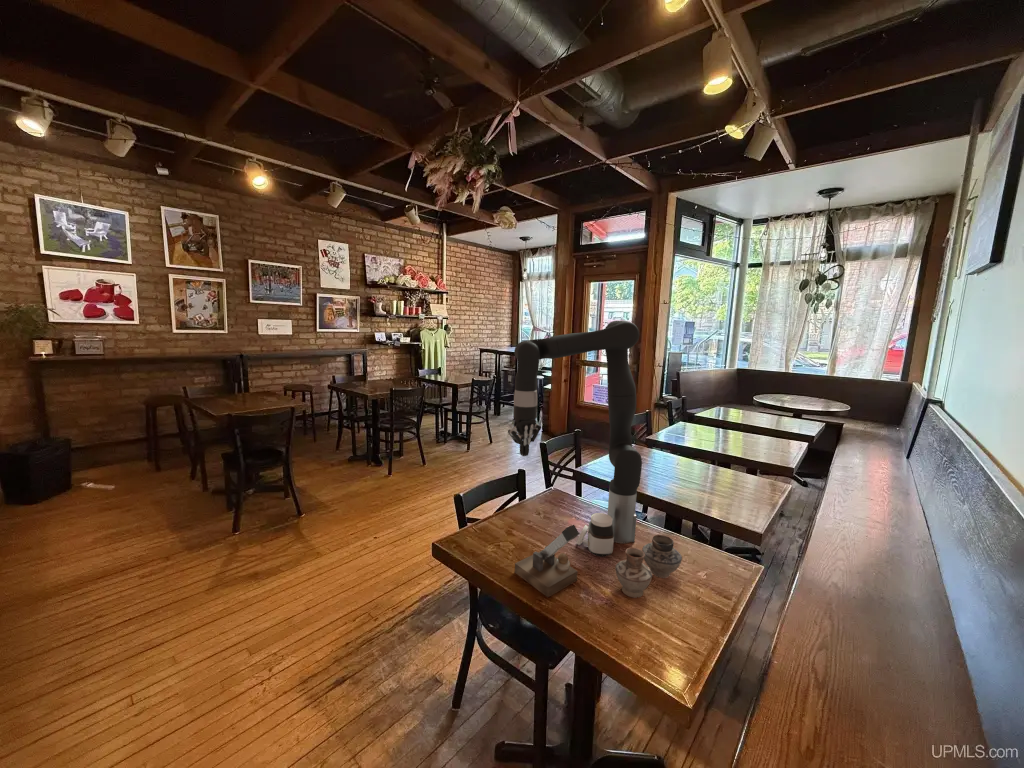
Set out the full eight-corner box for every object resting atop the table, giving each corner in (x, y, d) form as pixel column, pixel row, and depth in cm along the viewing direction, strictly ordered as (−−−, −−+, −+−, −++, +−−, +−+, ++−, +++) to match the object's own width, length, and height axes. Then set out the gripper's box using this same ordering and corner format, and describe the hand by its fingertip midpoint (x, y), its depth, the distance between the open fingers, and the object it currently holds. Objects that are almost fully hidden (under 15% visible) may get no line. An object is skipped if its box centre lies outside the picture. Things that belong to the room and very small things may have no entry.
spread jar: (615, 560, 130) (617, 525, 128) (579, 559, 130) (581, 525, 128) (606, 539, 142) (608, 508, 140) (573, 539, 141) (575, 507, 140)
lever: (536, 554, 120) (566, 527, 110) (543, 551, 122) (573, 524, 112) (541, 563, 119) (572, 537, 109) (548, 560, 121) (579, 533, 110)
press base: (514, 572, 122) (515, 549, 121) (543, 558, 130) (544, 536, 128) (547, 597, 111) (548, 572, 110) (577, 580, 119) (578, 556, 118)
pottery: (605, 588, 116) (607, 549, 114) (653, 557, 132) (656, 522, 130) (640, 610, 107) (643, 569, 105) (687, 574, 123) (690, 537, 121)
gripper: (517, 408, 124) (516, 462, 127) (548, 403, 132) (546, 454, 135) (502, 404, 130) (501, 456, 132) (532, 399, 138) (531, 448, 141)
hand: (524, 455), depth 134 cm, fingers closed
